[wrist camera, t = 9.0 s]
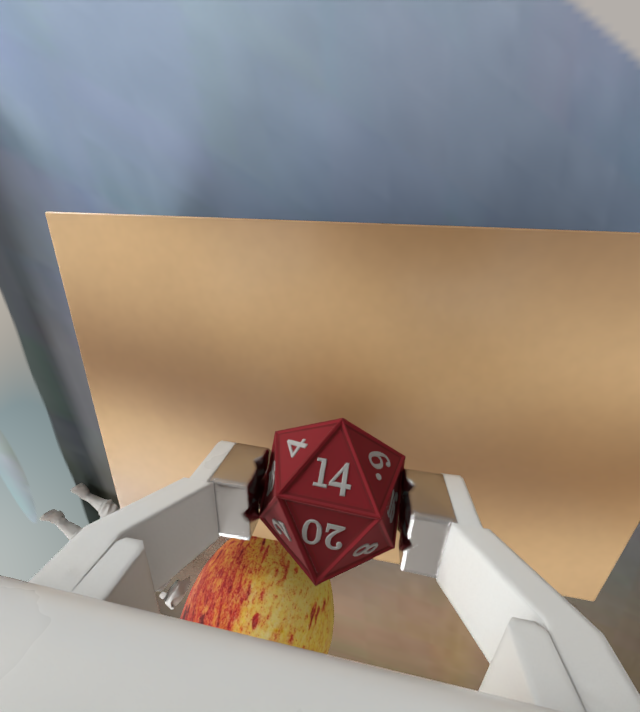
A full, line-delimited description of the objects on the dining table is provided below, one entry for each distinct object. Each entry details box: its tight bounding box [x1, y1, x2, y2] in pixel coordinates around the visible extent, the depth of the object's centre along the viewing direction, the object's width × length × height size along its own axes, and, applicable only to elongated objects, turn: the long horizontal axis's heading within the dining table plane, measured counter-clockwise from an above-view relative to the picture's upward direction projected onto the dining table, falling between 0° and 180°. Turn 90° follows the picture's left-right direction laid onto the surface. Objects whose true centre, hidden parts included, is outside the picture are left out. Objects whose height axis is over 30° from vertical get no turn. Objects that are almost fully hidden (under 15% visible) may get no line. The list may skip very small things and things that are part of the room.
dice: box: [259, 418, 405, 586], centre depth 8 cm, size 4×4×4 cm
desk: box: [45, 212, 640, 601], centre depth 14 cm, size 14×22×6 cm, turn 88°
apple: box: [180, 536, 334, 654], centre depth 18 cm, size 9×9×10 cm
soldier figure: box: [39, 483, 190, 609], centre depth 24 cm, size 8×5×12 cm
